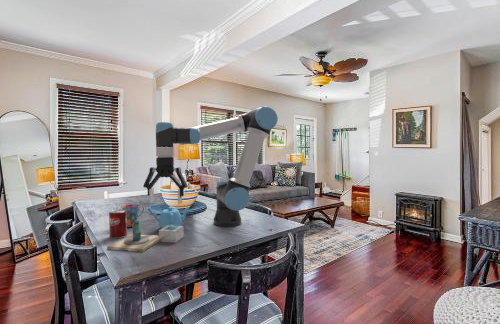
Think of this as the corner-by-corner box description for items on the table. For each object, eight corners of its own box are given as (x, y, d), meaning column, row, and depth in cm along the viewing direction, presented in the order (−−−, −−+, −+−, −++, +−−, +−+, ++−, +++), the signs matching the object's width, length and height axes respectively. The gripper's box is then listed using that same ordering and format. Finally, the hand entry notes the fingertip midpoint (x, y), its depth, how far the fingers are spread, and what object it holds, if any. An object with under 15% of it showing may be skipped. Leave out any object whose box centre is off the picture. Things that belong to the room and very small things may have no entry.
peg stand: (163, 238, 122) (162, 216, 122) (143, 251, 106) (142, 226, 106) (131, 236, 125) (130, 215, 124) (107, 249, 109) (106, 224, 109)
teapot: (152, 231, 135) (151, 209, 134) (172, 222, 147) (171, 202, 146) (171, 235, 129) (170, 212, 128) (190, 226, 141) (190, 205, 140)
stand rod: (174, 238, 122) (174, 225, 122) (172, 239, 120) (172, 226, 120) (170, 238, 123) (170, 225, 122) (168, 239, 121) (168, 226, 120)
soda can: (115, 240, 120) (114, 213, 119) (106, 237, 124) (105, 211, 123) (130, 235, 126) (129, 210, 126) (121, 233, 130) (120, 208, 129)
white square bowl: (183, 236, 125) (183, 226, 124) (175, 242, 117) (175, 231, 116) (167, 235, 126) (167, 225, 126) (158, 241, 118) (158, 230, 118)
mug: (128, 229, 136) (128, 208, 135) (118, 226, 141) (117, 206, 140) (149, 223, 146) (148, 204, 145) (138, 221, 151) (138, 202, 150)
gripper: (194, 156, 124) (194, 202, 125) (143, 156, 127) (144, 200, 128) (188, 157, 117) (189, 205, 118) (134, 156, 120) (135, 204, 121)
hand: (165, 203), depth 123 cm, fingers open, 13 cm apart
